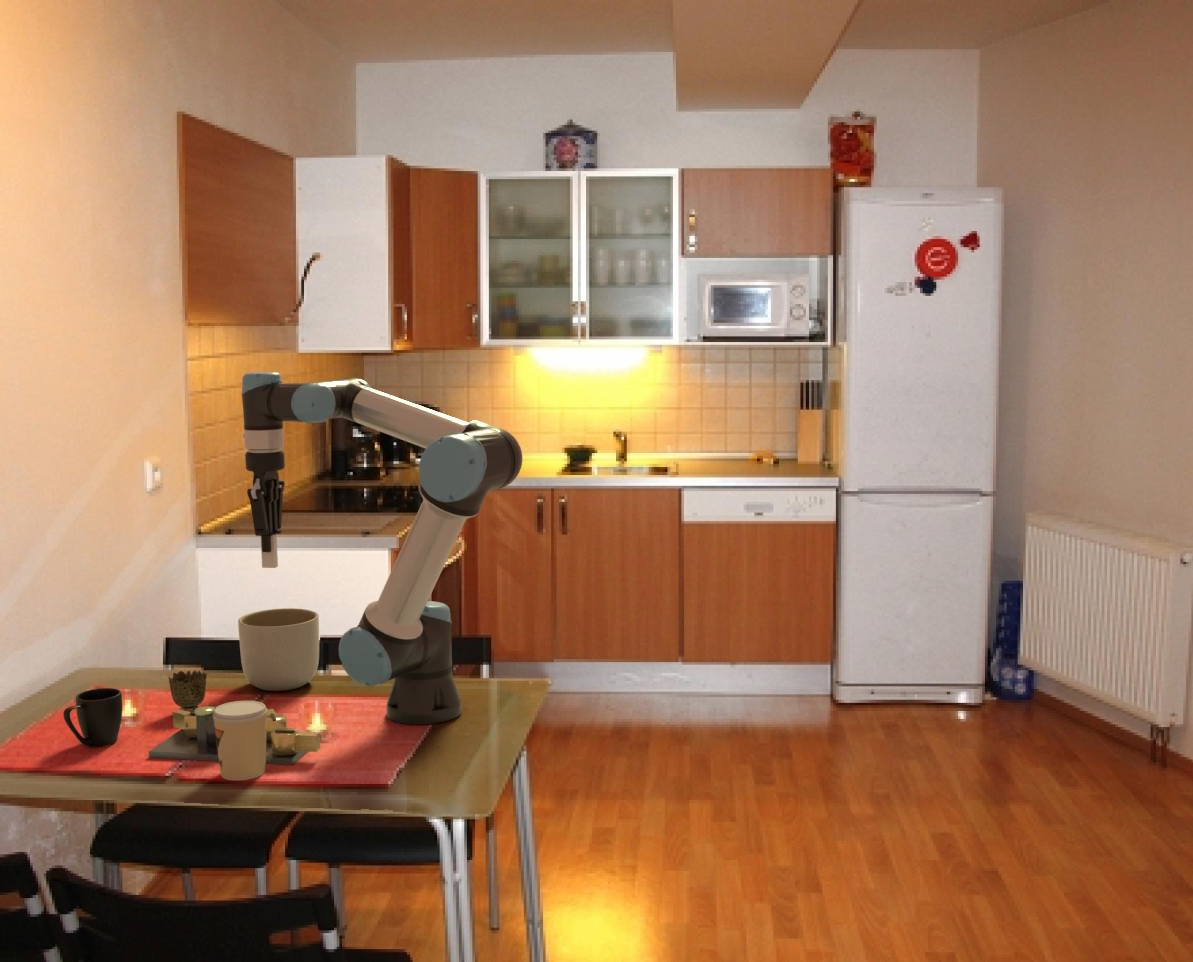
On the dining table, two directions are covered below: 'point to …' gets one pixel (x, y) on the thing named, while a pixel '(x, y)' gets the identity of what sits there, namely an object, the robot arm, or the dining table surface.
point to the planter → (279, 647)
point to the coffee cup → (241, 739)
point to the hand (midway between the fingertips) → (270, 566)
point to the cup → (188, 689)
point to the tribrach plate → (209, 754)
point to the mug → (97, 716)
